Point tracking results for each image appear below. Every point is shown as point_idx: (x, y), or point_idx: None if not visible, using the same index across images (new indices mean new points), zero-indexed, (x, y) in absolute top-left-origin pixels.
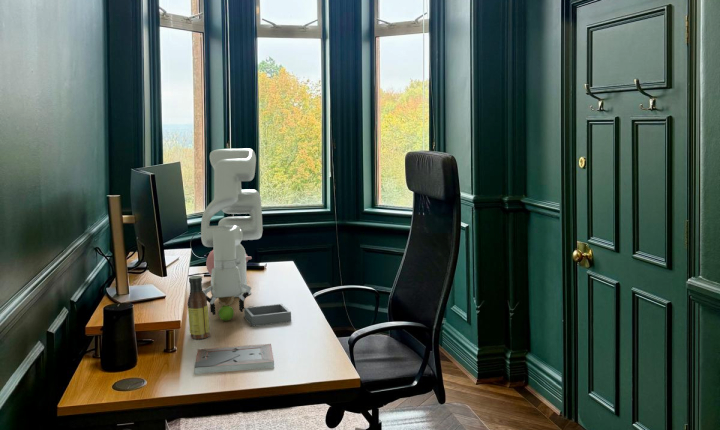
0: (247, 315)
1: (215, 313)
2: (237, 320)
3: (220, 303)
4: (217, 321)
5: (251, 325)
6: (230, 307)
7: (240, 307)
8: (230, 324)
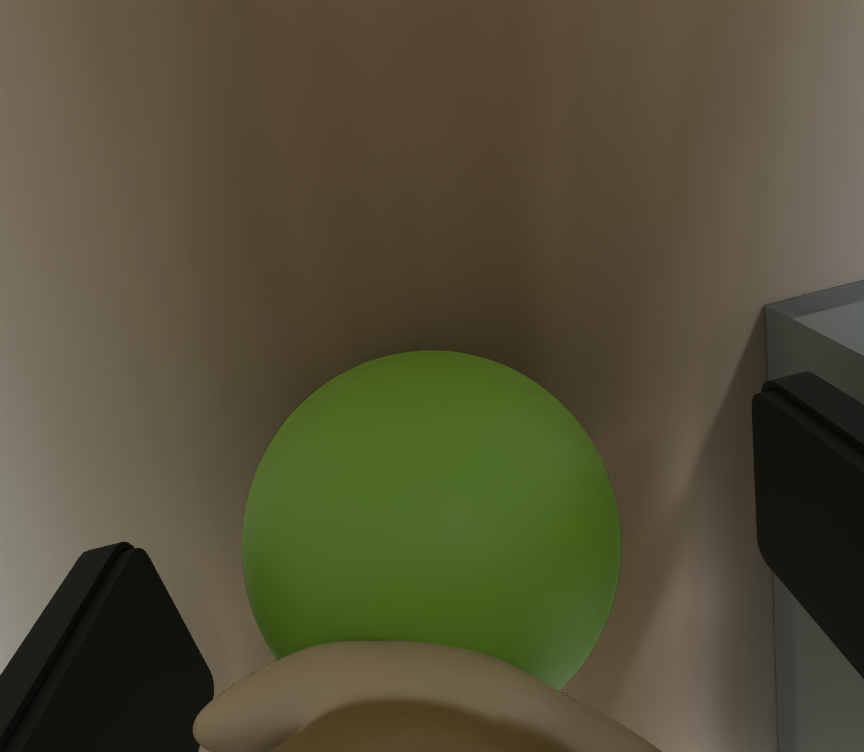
0: None
1: None
2: (613, 468)
3: (269, 743)
4: None
5: (777, 727)
6: (570, 673)
7: (822, 613)
8: None
